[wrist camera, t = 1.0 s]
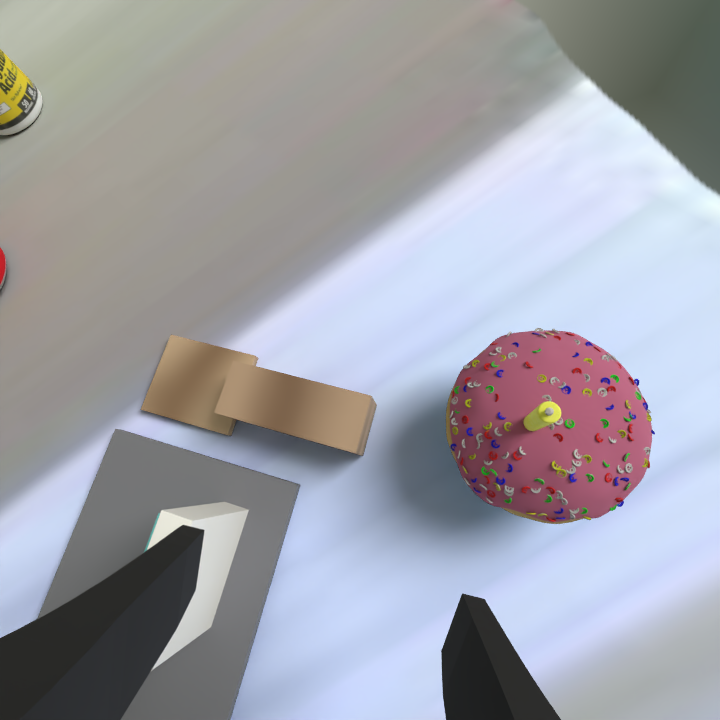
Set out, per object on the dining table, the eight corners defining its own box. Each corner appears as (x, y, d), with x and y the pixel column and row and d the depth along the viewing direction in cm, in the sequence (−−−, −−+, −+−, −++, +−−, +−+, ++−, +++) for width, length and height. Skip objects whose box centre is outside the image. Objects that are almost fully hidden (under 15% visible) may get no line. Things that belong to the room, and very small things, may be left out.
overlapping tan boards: (381, 389, 24) (376, 377, 22) (358, 473, 23) (350, 473, 20) (175, 337, 27) (147, 321, 24) (146, 410, 26) (113, 402, 23)
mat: (214, 771, 20) (208, 780, 20) (20, 679, 23) (10, 684, 22) (300, 484, 23) (297, 484, 23) (122, 429, 26) (115, 429, 25)
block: (210, 627, 22) (136, 682, 16) (182, 615, 22) (99, 665, 16) (248, 509, 23) (192, 520, 17) (221, 500, 23) (157, 508, 17)
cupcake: (475, 536, 22) (540, 604, 10) (417, 386, 24) (418, 305, 13) (633, 483, 21) (886, 490, 10) (558, 336, 24) (690, 207, 12)
